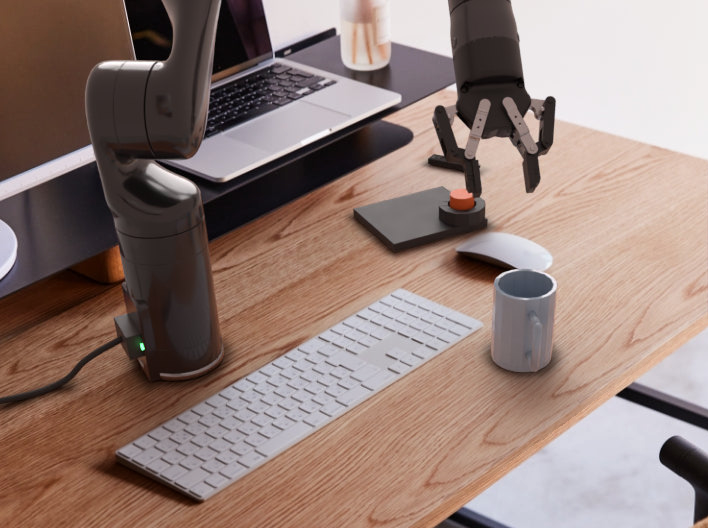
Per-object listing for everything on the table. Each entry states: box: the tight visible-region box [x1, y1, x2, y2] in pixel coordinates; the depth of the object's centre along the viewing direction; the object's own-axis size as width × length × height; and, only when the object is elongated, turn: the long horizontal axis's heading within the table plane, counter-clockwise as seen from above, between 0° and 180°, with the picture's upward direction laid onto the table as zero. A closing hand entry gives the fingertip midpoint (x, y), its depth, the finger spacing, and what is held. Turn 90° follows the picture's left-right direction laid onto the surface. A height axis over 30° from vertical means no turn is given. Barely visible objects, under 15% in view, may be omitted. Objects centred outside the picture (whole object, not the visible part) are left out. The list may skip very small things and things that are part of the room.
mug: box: [490, 268, 559, 373], centre depth 113 cm, size 9×6×9 cm
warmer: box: [352, 185, 489, 253], centre depth 143 cm, size 15×13×3 cm
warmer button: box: [450, 188, 474, 210], centre depth 141 cm, size 3×3×2 cm
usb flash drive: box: [427, 153, 482, 172], centre depth 158 cm, size 8×2×1 cm, turn 59°
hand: (504, 192), depth 118 cm, fingers open, 5 cm apart
